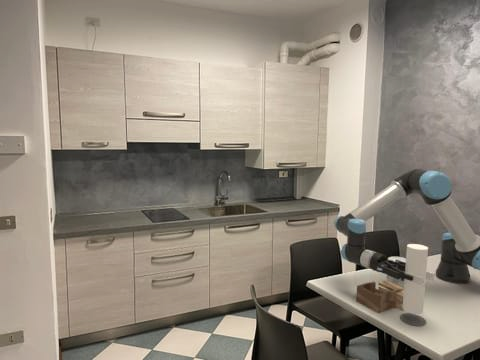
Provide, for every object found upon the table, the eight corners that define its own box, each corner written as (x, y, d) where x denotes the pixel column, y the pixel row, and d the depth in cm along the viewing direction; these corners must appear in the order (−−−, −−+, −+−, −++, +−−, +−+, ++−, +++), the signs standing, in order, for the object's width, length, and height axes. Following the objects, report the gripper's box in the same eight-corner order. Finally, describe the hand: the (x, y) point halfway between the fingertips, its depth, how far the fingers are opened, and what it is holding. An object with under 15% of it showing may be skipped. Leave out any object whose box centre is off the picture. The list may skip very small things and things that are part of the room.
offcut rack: (382, 293, 161) (383, 278, 160) (413, 307, 148) (414, 291, 147) (356, 301, 153) (356, 285, 152) (386, 316, 139) (387, 299, 139)
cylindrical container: (398, 306, 139) (402, 244, 136) (412, 304, 141) (417, 243, 138) (412, 315, 132) (417, 250, 129) (427, 312, 134) (432, 248, 132)
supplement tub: (412, 291, 163) (414, 260, 161) (400, 296, 158) (402, 264, 156) (393, 284, 171) (395, 254, 169) (381, 288, 166) (383, 258, 164)
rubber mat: (417, 314, 142) (417, 312, 142) (430, 325, 133) (430, 324, 133) (395, 314, 141) (395, 313, 141) (407, 326, 132) (407, 325, 132)
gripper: (387, 265, 156) (441, 283, 137) (358, 274, 145) (412, 295, 126) (388, 248, 155) (442, 264, 136) (359, 256, 144) (414, 274, 125)
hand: (428, 279), depth 131 cm, fingers closed on cylindrical container, 7 cm apart
